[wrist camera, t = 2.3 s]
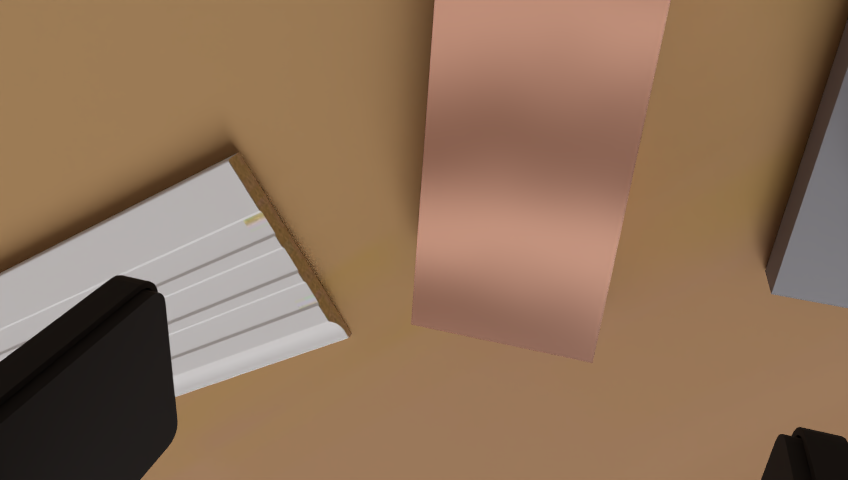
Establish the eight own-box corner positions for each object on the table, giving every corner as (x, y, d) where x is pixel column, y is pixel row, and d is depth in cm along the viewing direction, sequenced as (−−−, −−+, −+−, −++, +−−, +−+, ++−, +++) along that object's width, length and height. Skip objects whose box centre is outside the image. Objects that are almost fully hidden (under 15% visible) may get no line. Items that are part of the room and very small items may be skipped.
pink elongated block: (477, -147, 22) (445, -146, 19) (690, -130, 21) (697, -125, 18) (440, 267, 29) (411, 324, 25) (600, 298, 28) (592, 362, 24)
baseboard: (373, 353, 32) (246, 145, 29) (350, 395, 29) (208, 172, 26) (-48, 490, 44) (-166, 354, 42) (-89, 527, 42) (-217, 386, 39)
